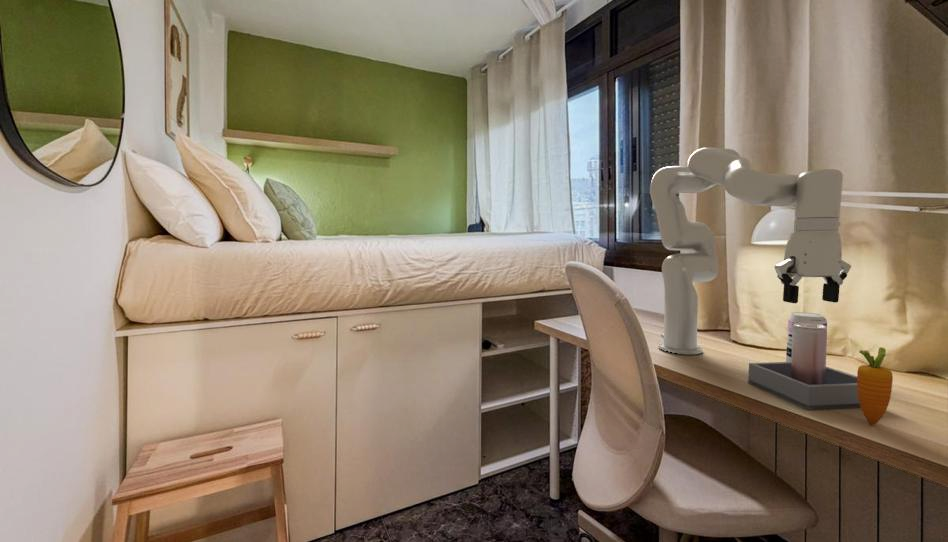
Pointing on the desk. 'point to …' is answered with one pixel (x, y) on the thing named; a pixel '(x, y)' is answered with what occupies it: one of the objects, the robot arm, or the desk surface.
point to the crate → (806, 387)
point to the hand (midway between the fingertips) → (810, 301)
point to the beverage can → (809, 353)
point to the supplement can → (801, 318)
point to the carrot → (874, 386)
